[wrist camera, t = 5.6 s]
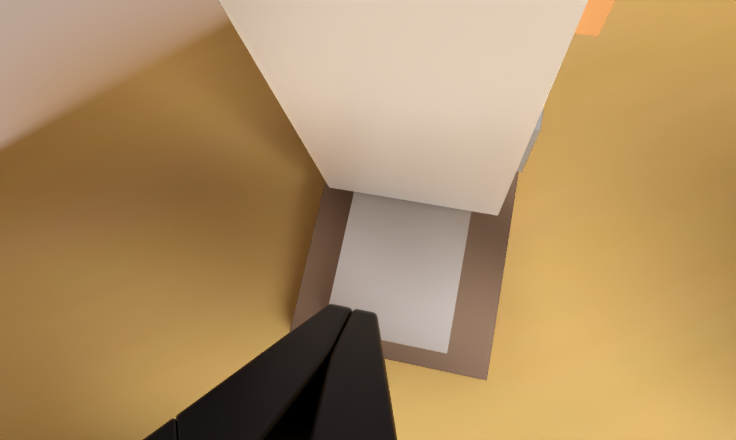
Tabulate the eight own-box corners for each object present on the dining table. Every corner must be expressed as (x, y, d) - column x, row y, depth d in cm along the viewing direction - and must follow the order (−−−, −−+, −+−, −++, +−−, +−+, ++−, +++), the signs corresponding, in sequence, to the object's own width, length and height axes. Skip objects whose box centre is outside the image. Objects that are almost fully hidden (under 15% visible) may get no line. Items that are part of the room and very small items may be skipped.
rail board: (483, 379, 17) (503, 385, 12) (296, 339, 18) (245, 328, 13) (525, 106, 19) (557, 17, 14) (356, 83, 20) (331, -7, 15)
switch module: (519, 219, 16) (697, -91, 5) (329, 187, 16) (139, -132, 6) (536, 107, 16) (721, -366, 6) (353, 82, 17) (226, -363, 7)
